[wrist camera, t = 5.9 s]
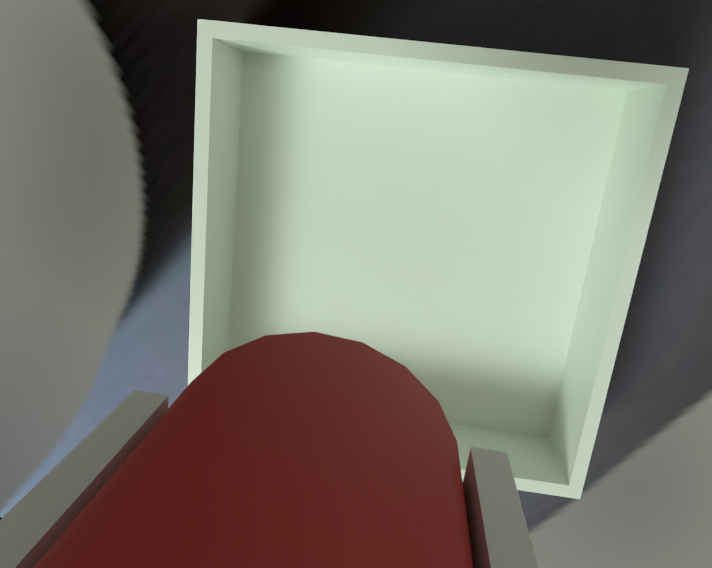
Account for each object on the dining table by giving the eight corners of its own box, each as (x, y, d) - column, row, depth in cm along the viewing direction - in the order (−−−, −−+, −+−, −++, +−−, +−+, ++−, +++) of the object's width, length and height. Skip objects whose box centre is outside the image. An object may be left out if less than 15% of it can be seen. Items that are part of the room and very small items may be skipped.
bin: (234, 38, 26) (197, 19, 21) (639, 79, 24) (689, 68, 20) (219, 394, 30) (186, 439, 26) (554, 443, 29) (580, 499, 25)
